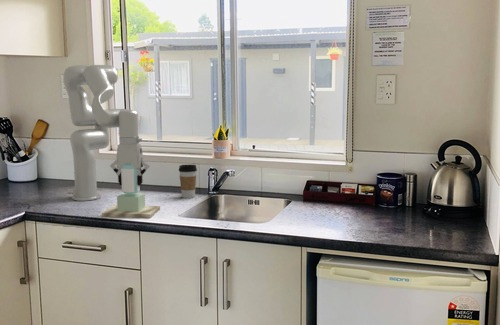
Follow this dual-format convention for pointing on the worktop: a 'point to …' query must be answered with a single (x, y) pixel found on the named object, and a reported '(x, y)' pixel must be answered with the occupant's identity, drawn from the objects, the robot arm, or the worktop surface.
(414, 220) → the worktop surface
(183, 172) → the coffee cup
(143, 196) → the sage brick
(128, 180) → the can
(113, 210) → the birch board
